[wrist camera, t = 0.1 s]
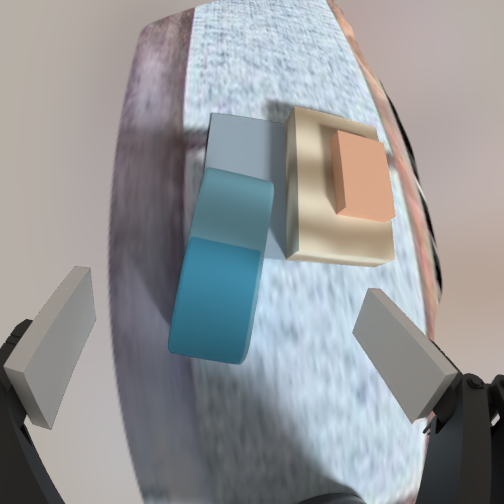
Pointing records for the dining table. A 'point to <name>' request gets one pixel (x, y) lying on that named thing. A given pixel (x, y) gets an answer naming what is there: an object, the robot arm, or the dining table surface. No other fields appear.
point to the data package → (222, 268)
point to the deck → (326, 197)
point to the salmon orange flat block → (361, 178)
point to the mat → (254, 164)
